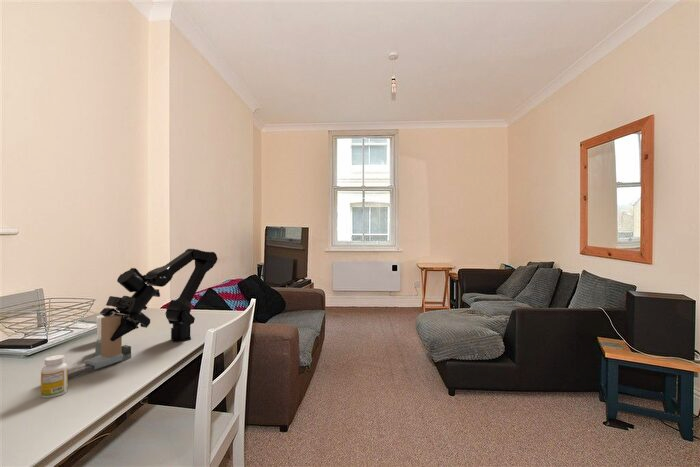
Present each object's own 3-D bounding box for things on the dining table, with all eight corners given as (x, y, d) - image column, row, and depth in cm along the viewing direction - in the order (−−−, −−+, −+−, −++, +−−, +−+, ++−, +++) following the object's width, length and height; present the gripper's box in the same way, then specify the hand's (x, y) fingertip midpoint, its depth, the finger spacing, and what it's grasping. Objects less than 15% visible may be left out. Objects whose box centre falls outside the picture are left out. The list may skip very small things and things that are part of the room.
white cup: (108, 344, 131) (108, 318, 131) (91, 342, 132) (91, 317, 132) (125, 338, 139) (125, 313, 139) (109, 336, 140) (109, 312, 140)
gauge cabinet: (120, 348, 126) (120, 334, 126) (119, 353, 121) (119, 339, 121) (97, 351, 123) (97, 337, 123) (95, 357, 117) (95, 343, 117)
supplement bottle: (51, 389, 93) (51, 354, 93) (72, 388, 94) (72, 353, 94) (35, 398, 88) (35, 361, 88) (57, 398, 88) (57, 361, 88)
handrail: (125, 356, 118) (125, 345, 118) (131, 357, 117) (131, 346, 117) (47, 382, 97) (47, 369, 97) (53, 384, 96) (53, 370, 96)
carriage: (112, 357, 115) (112, 314, 115) (123, 359, 113) (123, 316, 113) (84, 366, 107) (84, 320, 107) (95, 369, 105) (95, 322, 105)
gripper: (105, 284, 119) (70, 323, 109) (142, 288, 112) (107, 330, 102) (127, 302, 127) (96, 340, 117) (163, 307, 120) (132, 348, 109)
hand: (107, 339), depth 111 cm, fingers closed on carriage, 4 cm apart
